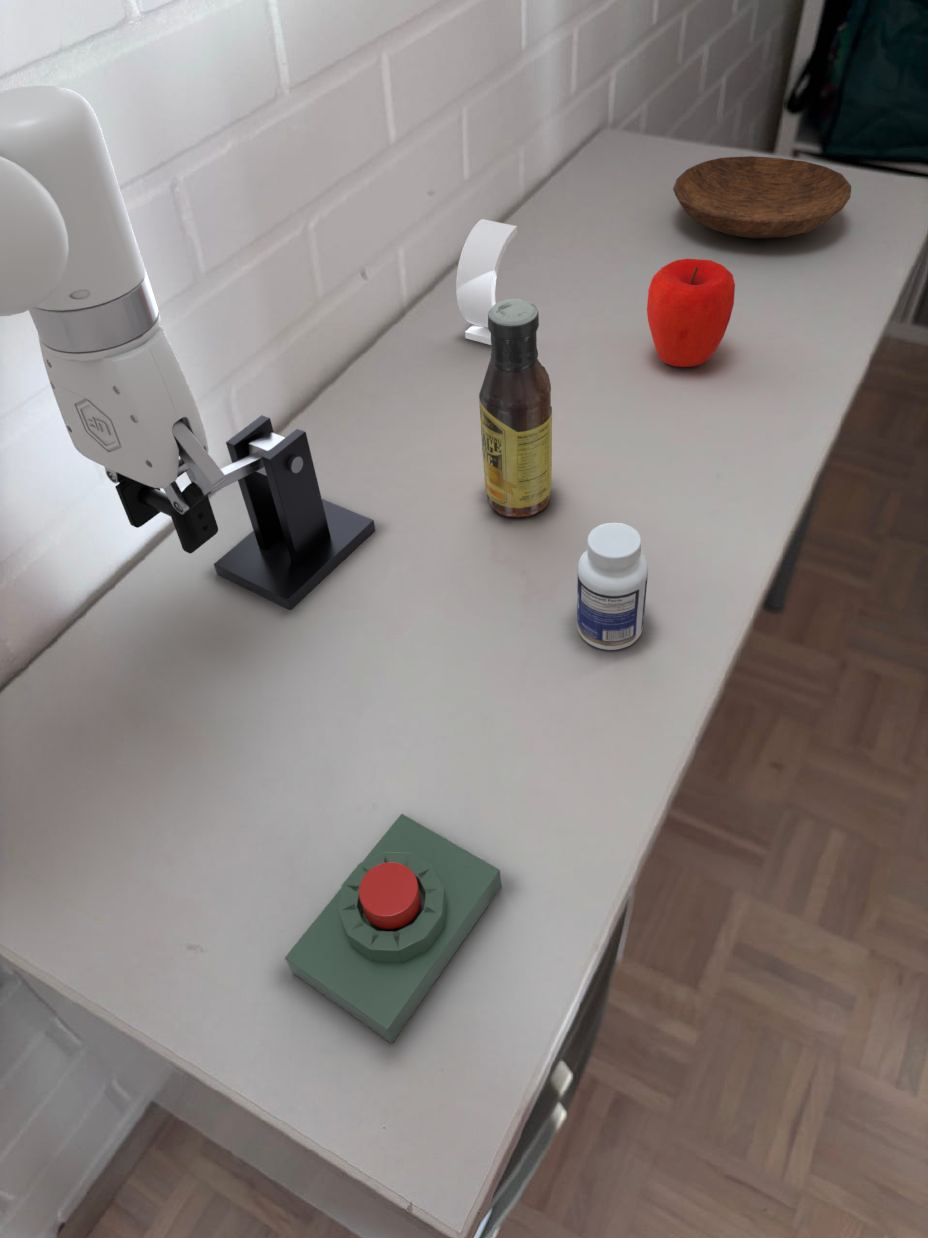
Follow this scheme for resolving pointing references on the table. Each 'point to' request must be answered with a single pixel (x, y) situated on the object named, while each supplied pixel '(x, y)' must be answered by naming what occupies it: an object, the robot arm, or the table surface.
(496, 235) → the headphone stand
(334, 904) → the button box
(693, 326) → the apple
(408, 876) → the button
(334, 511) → the bracket
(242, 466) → the lever
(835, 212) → the bowl
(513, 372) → the sauce bottle
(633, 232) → the table surface
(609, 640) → the pill bottle
